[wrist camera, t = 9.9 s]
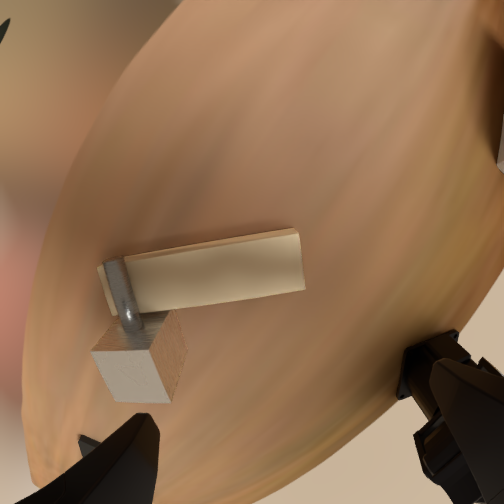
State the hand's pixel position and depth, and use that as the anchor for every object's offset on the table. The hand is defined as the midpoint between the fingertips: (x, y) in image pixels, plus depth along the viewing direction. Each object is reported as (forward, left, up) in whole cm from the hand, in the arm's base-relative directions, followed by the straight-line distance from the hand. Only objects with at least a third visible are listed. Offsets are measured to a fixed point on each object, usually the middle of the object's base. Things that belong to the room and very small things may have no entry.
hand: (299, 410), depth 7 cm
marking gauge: (-1, +9, -12) cm, 15 cm away
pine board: (+1, +4, -12) cm, 13 cm away
